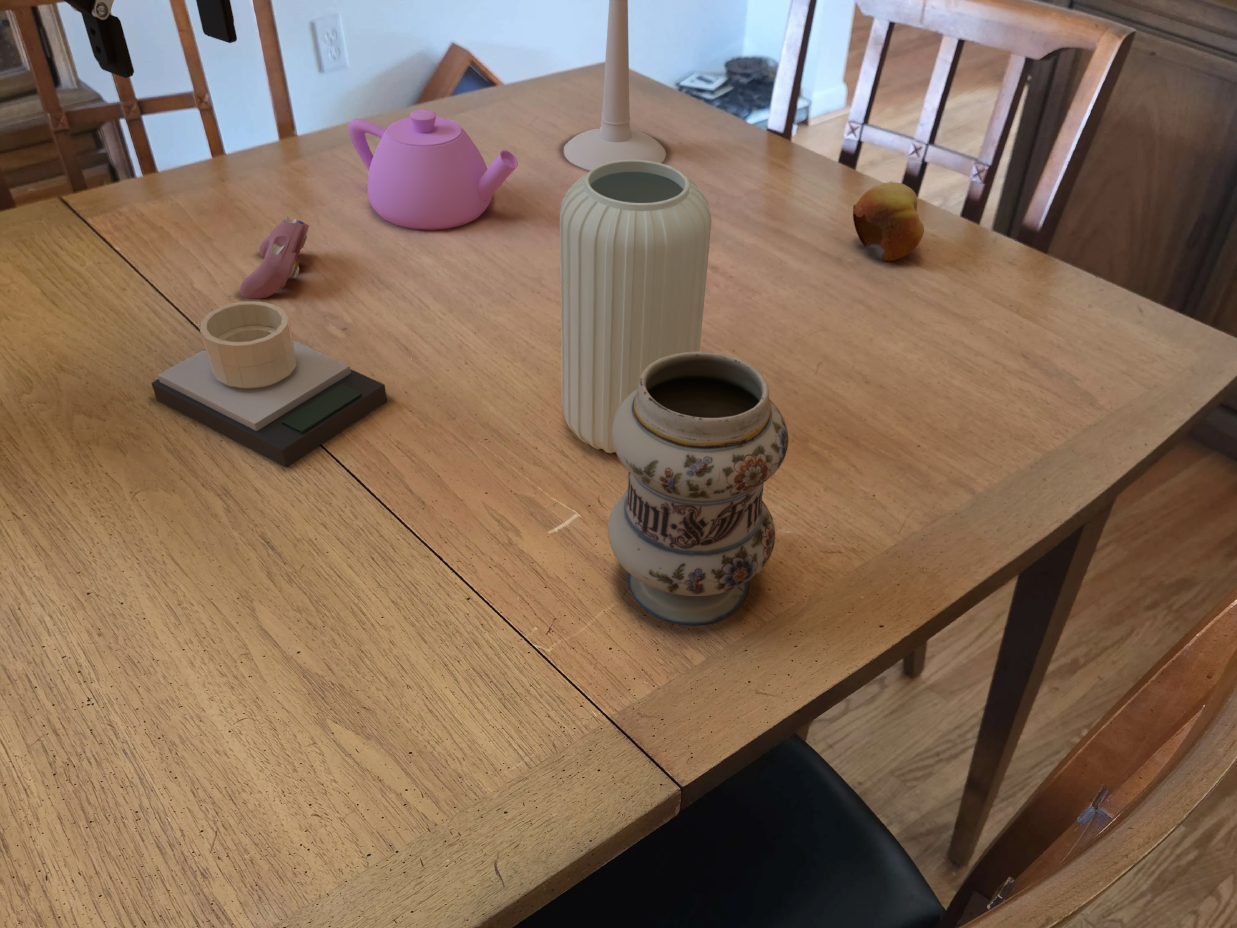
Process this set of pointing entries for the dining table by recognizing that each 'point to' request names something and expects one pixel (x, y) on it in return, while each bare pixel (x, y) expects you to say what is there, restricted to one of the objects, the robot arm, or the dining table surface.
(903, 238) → the fruit
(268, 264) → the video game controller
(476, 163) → the teapot
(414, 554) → the dining table surface
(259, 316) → the ring
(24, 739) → the dining table surface
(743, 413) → the apothecary jar
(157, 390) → the scale
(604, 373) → the vase
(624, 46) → the candlestick
